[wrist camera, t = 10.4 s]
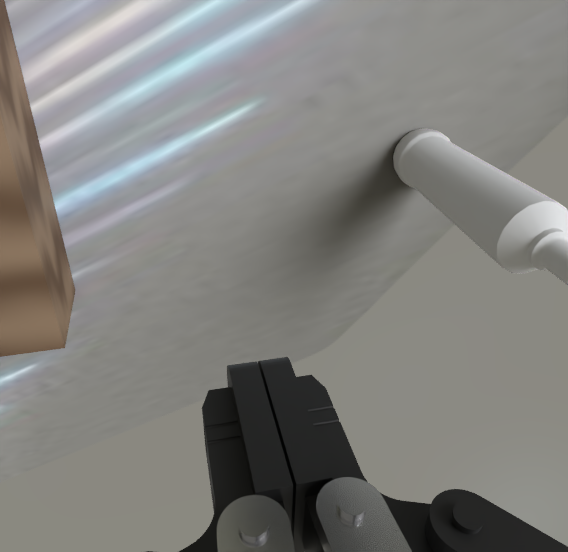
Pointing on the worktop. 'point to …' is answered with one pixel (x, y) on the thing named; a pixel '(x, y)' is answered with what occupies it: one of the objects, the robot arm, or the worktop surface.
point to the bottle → (486, 204)
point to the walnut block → (27, 224)
